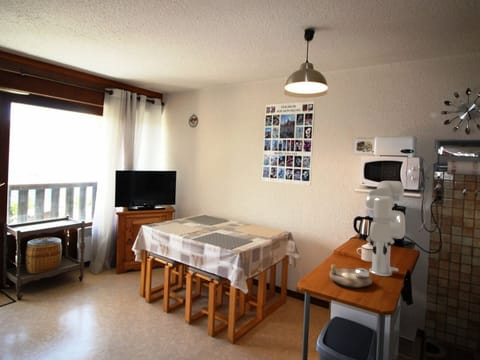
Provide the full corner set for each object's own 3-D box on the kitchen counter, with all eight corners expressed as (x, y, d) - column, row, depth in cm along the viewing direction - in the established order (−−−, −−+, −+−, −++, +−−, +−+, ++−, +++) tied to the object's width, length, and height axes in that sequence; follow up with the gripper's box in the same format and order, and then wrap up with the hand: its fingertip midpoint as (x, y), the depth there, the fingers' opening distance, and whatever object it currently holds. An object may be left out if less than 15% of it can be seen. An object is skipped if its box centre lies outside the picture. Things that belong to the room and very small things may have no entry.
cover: (367, 275, 163) (367, 268, 163) (370, 279, 156) (370, 273, 156) (354, 273, 165) (354, 267, 165) (356, 278, 158) (356, 272, 158)
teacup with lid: (376, 259, 202) (376, 242, 201) (374, 262, 194) (375, 245, 194) (357, 256, 208) (358, 240, 208) (355, 259, 201) (356, 242, 200)
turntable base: (362, 278, 168) (363, 274, 168) (368, 289, 153) (368, 285, 153) (333, 275, 172) (334, 271, 172) (336, 286, 156) (336, 282, 156)
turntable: (367, 273, 170) (368, 262, 170) (376, 288, 149) (376, 276, 149) (328, 269, 175) (328, 258, 175) (331, 284, 154) (331, 272, 154)
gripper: (395, 220, 159) (394, 253, 160) (363, 218, 162) (361, 250, 164) (400, 222, 151) (398, 257, 152) (365, 220, 155) (364, 254, 156)
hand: (379, 253), depth 158 cm, fingers open, 4 cm apart
